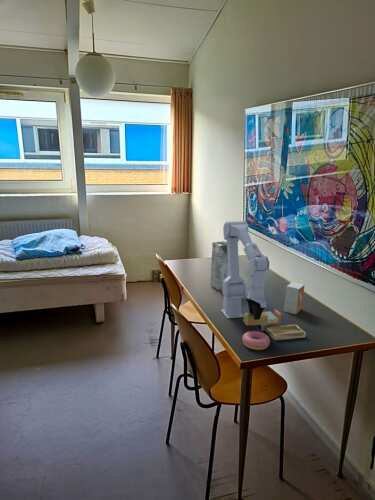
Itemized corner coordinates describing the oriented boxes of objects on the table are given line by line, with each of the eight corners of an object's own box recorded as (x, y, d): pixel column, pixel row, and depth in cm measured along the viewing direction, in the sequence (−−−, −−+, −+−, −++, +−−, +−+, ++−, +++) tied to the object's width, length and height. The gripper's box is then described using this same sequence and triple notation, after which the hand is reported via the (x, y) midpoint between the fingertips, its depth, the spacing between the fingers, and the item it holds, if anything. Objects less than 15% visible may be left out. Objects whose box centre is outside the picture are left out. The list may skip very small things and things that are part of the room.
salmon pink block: (258, 323, 162) (259, 310, 160) (274, 322, 164) (276, 309, 162) (263, 329, 157) (264, 315, 155) (280, 327, 159) (281, 314, 157)
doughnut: (265, 337, 150) (266, 328, 149) (273, 351, 140) (274, 341, 139) (239, 338, 150) (239, 328, 149) (245, 352, 139) (245, 342, 138)
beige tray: (266, 332, 155) (267, 327, 154) (296, 329, 158) (296, 324, 158) (274, 340, 148) (275, 335, 147) (305, 337, 152) (305, 331, 151)
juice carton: (217, 291, 199) (220, 243, 192) (208, 285, 208) (210, 239, 201) (231, 289, 202) (234, 242, 195) (222, 283, 212) (224, 238, 205)
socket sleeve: (254, 323, 163) (255, 312, 161) (269, 322, 164) (270, 311, 163) (262, 331, 155) (263, 319, 154) (277, 329, 157) (278, 318, 156)
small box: (296, 314, 173) (299, 289, 169) (283, 311, 176) (286, 286, 173) (302, 309, 179) (304, 284, 176) (289, 306, 183) (292, 281, 179)
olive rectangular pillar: (247, 325, 147) (248, 316, 146) (243, 321, 151) (244, 312, 150) (267, 324, 150) (268, 315, 149) (263, 320, 153) (264, 312, 152)
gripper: (240, 280, 152) (238, 310, 155) (255, 292, 138) (253, 325, 142) (256, 279, 154) (254, 309, 157) (272, 291, 140) (269, 324, 143)
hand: (254, 316), depth 149 cm, fingers closed on olive rectangular pillar, 4 cm apart
